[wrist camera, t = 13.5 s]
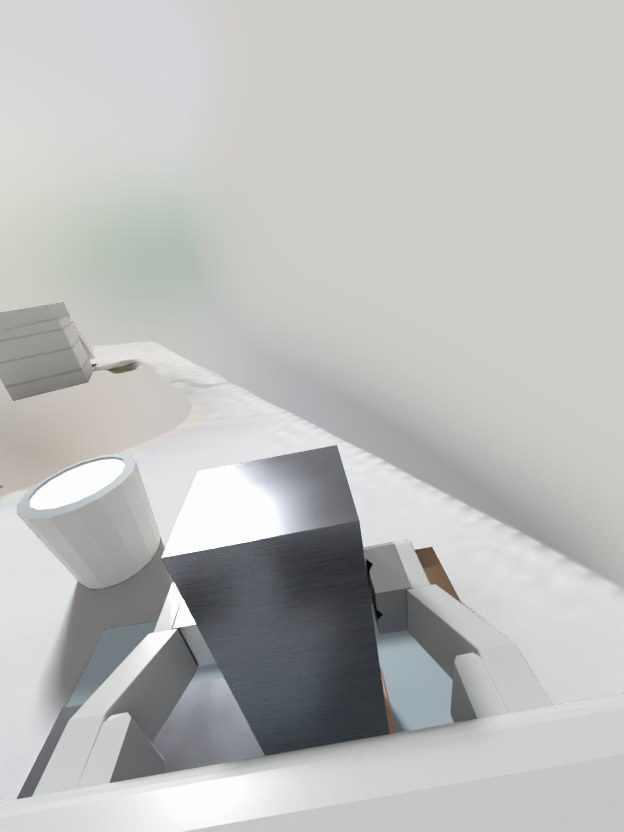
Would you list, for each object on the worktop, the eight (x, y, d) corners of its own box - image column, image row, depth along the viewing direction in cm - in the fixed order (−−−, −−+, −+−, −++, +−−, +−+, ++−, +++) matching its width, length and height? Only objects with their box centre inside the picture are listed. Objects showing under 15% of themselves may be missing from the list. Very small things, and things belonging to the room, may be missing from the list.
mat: (-150, 1162, 8) (-166, 1163, 7) (107, 633, 19) (103, 628, 18) (639, 1018, 8) (645, 1015, 8) (431, 577, 19) (431, 571, 19)
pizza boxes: (104, 360, 101) (78, 300, 93) (96, 381, 76) (59, 302, 69) (31, 377, 94) (-3, 313, 86) (-4, 407, 69) (-57, 321, 62)
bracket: (374, 676, 14) (336, 445, 9) (395, 773, 11) (359, 520, 6) (84, 731, 14) (-114, 530, 9) (37, 840, 11) (-282, 641, 6)
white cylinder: (74, 548, 26) (28, 477, 23) (163, 510, 28) (133, 442, 25) (62, 618, 20) (-1, 536, 17) (174, 562, 23) (137, 483, 20)
